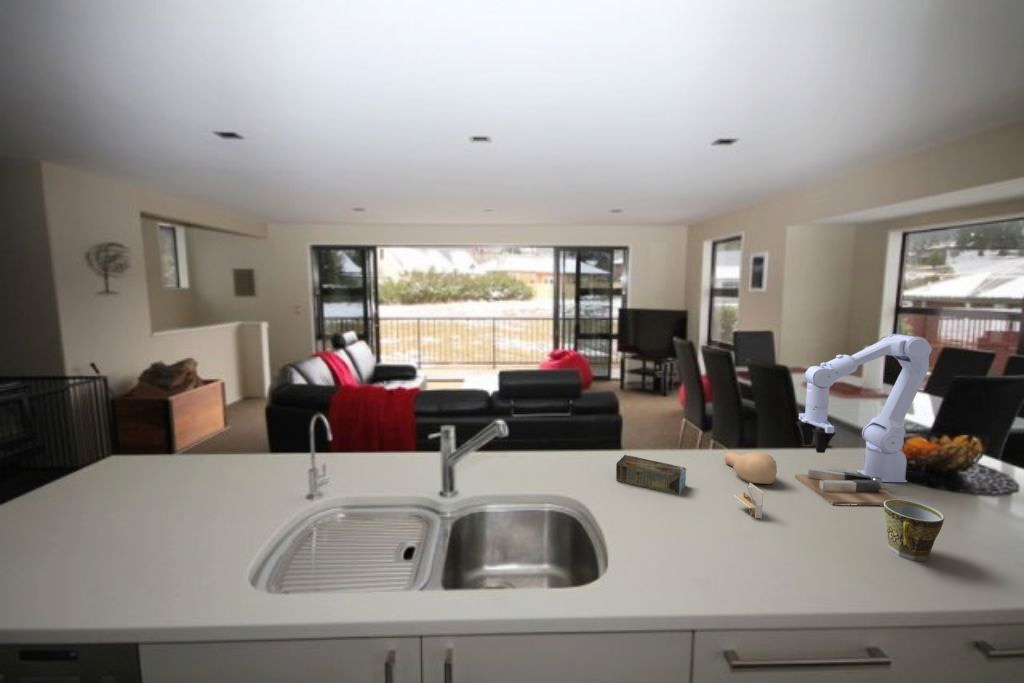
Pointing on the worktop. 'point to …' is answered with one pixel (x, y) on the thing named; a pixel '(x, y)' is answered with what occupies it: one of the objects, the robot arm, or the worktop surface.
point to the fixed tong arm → (849, 486)
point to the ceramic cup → (911, 528)
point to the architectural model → (753, 500)
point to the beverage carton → (651, 474)
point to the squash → (753, 466)
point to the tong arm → (839, 476)
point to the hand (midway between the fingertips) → (813, 448)
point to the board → (847, 494)
